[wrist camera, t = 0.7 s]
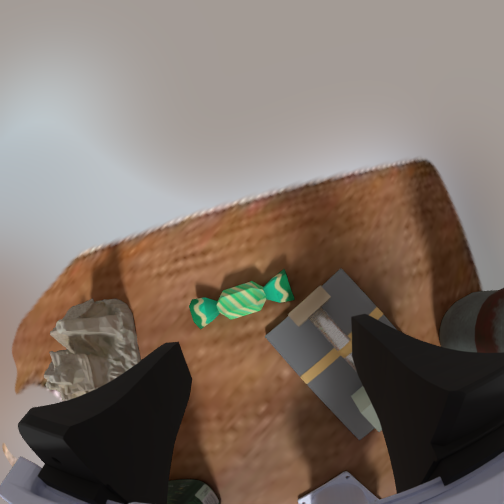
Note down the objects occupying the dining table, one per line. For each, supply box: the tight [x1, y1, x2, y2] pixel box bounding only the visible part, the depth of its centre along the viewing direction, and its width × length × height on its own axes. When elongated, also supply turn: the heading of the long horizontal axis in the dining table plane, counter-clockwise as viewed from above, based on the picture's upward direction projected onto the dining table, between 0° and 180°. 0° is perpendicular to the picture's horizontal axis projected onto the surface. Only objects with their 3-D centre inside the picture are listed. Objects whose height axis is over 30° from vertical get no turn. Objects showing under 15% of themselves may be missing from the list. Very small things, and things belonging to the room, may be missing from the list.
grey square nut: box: [351, 386, 382, 432], centre depth 23 cm, size 3×6×7 cm, turn 130°
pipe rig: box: [265, 268, 397, 440], centre depth 27 cm, size 18×12×6 cm, turn 40°
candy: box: [189, 269, 295, 329], centre depth 33 cm, size 12×3×4 cm
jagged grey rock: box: [44, 298, 141, 400], centre depth 30 cm, size 16×16×15 cm
